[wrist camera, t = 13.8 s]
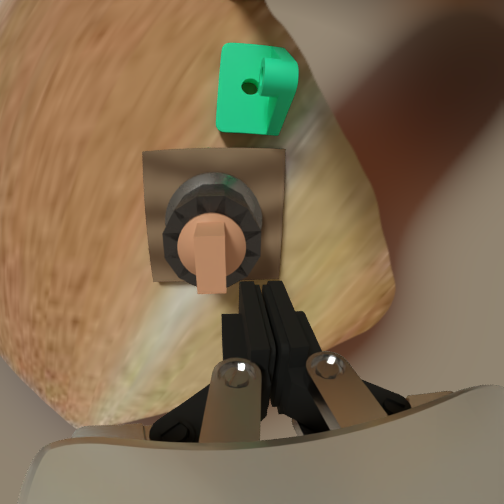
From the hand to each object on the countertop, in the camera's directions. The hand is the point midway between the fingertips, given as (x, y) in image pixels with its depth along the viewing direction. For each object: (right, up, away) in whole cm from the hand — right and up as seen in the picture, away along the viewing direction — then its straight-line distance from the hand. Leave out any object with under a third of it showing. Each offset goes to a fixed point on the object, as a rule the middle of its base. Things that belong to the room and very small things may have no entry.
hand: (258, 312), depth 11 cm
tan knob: (-4, +5, +19) cm, 20 cm away
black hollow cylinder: (-5, +7, +25) cm, 26 cm away
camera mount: (-1, +23, +21) cm, 31 cm away
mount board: (-5, +7, +26) cm, 27 cm away
